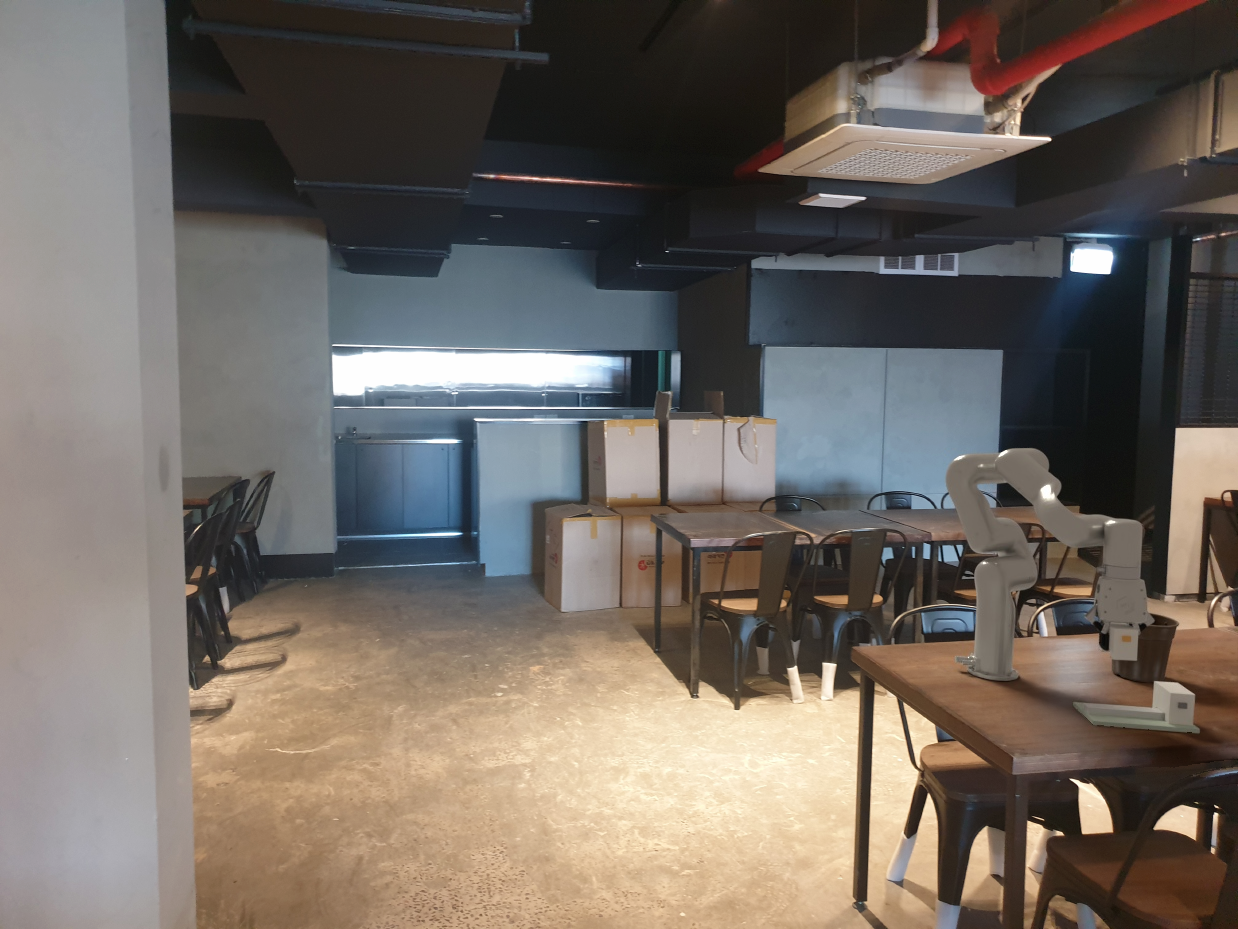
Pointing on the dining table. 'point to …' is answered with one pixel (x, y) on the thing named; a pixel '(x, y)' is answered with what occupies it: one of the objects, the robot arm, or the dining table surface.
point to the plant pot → (1149, 652)
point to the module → (1122, 642)
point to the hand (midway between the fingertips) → (1117, 649)
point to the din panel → (1134, 722)
